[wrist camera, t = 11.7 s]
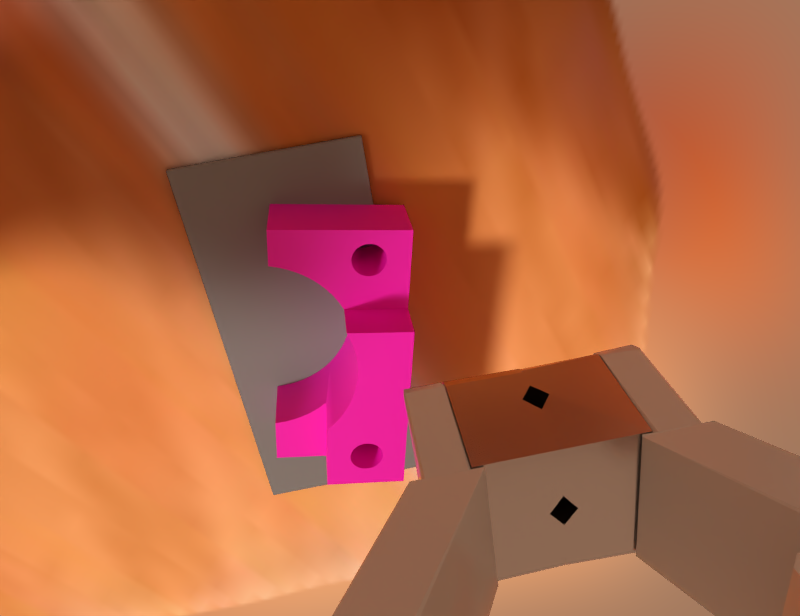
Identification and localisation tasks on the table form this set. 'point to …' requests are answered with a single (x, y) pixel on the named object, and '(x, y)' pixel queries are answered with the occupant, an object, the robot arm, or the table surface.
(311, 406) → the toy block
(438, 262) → the table surface
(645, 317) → the table surface
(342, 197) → the rubber mat
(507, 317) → the table surface
